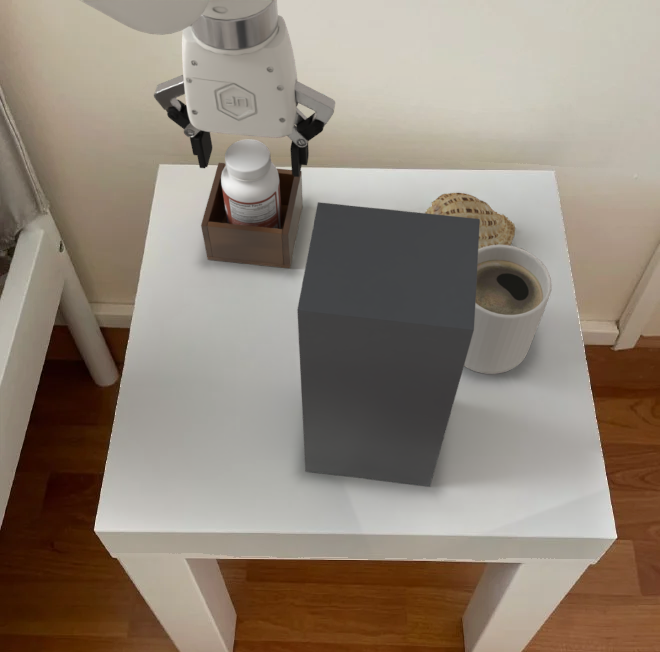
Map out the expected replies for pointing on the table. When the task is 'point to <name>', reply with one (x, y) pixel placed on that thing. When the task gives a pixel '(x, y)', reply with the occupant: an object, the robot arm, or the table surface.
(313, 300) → the block
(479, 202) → the seashell
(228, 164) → the pill bottle
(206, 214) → the wooden box
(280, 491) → the table surface
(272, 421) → the table surface
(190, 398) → the table surface
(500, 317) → the mug
